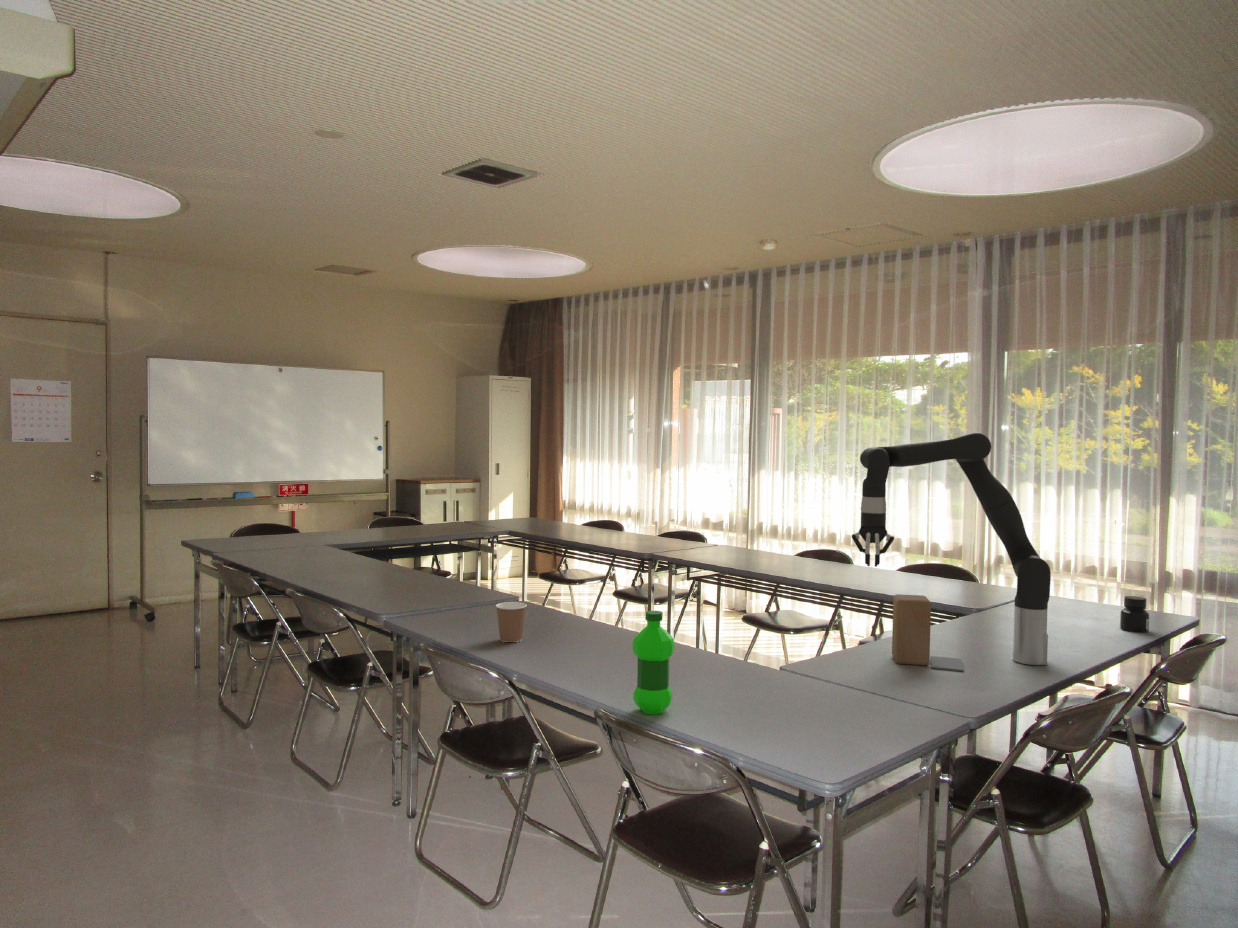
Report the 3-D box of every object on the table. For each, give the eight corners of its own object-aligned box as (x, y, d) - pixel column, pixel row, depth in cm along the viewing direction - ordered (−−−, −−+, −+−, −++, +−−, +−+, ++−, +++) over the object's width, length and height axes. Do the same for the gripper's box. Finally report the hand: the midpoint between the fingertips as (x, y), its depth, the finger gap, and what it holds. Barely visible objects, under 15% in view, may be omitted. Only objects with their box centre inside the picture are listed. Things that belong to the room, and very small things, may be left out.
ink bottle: (1154, 633, 296) (1156, 600, 295) (1130, 633, 296) (1131, 600, 295) (1138, 627, 305) (1139, 595, 305) (1114, 626, 305) (1115, 594, 305)
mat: (961, 660, 257) (961, 658, 257) (963, 671, 245) (963, 669, 245) (930, 657, 260) (930, 655, 260) (931, 668, 248) (931, 666, 248)
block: (929, 666, 250) (931, 601, 249) (895, 664, 252) (897, 599, 251) (924, 657, 260) (926, 595, 259) (891, 655, 262) (893, 593, 261)
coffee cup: (529, 637, 280) (529, 602, 279) (522, 644, 269) (523, 608, 269) (499, 636, 281) (499, 601, 280) (492, 643, 270) (492, 607, 270)
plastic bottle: (676, 717, 203) (677, 616, 202) (633, 717, 202) (635, 616, 201) (670, 703, 212) (672, 608, 212) (630, 704, 212) (631, 608, 211)
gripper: (896, 511, 259) (895, 565, 260) (851, 509, 264) (850, 562, 264) (896, 513, 252) (894, 569, 253) (850, 511, 257) (848, 566, 257)
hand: (872, 565), depth 259 cm, fingers closed
